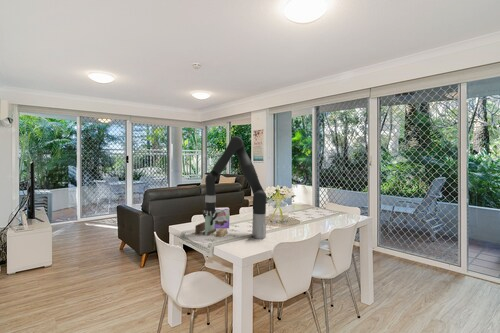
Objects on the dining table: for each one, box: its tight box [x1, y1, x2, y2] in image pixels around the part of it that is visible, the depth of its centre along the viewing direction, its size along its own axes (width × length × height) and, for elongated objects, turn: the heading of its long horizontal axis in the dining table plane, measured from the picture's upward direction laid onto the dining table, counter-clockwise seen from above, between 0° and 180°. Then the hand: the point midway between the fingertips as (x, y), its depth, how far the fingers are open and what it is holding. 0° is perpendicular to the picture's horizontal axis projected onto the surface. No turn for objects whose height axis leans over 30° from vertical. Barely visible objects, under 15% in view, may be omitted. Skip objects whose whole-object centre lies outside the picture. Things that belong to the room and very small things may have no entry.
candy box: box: [214, 207, 231, 230], centre depth 219 cm, size 14×6×16 cm, turn 101°
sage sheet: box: [204, 214, 215, 236], centre depth 203 cm, size 2×11×14 cm, turn 160°
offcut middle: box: [215, 230, 229, 238], centre depth 200 cm, size 5×10×2 cm, turn 164°
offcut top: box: [215, 228, 228, 235], centre depth 200 cm, size 5×10×2 cm, turn 169°
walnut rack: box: [194, 221, 217, 236], centre depth 204 cm, size 10×12×7 cm
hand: (209, 224), depth 203 cm, fingers closed on sage sheet, 2 cm apart
